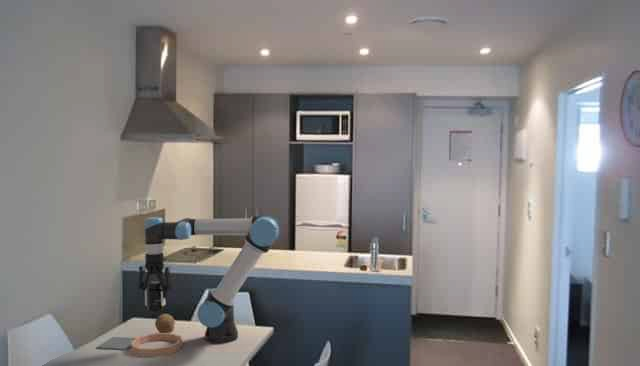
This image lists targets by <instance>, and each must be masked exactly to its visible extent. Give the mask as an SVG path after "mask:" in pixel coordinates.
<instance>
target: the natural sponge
mask: <svg viewBox="0 0 640 366" xmlns="http://www.w3.org/2000/svg"><path fill="white" fill-rule="evenodd" d="M154 322H155V323H154V325H155V328H156V330H157V331H158V333H172V332H173V331H174V329H175V323H176V322H175V319H174V317H173V316H172V315H170V314H168V313H163V314H160V315H159V316H158V317H157V318H156V320H155V321H154Z"/></svg>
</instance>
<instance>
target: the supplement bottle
mask: <svg viewBox="0 0 640 366" xmlns="http://www.w3.org/2000/svg"><path fill="white" fill-rule="evenodd" d="M161 291H162V287H161V284H160V281H150V282H149V285H148V290H147V305H146V309H147V311H148V312H158V311H162V310H163V309H164V306H161Z"/></svg>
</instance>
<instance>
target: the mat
mask: <svg viewBox="0 0 640 366" xmlns="http://www.w3.org/2000/svg"><path fill="white" fill-rule="evenodd" d="M136 338H137V337H123V336H122V337H121V336H112V337H111V338H109V339H107V340H106V341H104V342H102V343H101V344H99V345H98V346H96V347H95V349H96V350H98V349H100V350H116V351H128V349H130V348H132V344H131V342H132V341H133V340H135V339H136Z"/></svg>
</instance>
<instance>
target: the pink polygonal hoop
mask: <svg viewBox="0 0 640 366" xmlns="http://www.w3.org/2000/svg"><path fill="white" fill-rule="evenodd" d="M135 338H136V339H135V340H133V341H132V342H131V344H132V346H131V353H132V354H134V355H137V356H139V357H158V356H165V355H169V354H173V353H175V352H177V351H178V350H180V349H181V348H182V347H183V338H182V336H181V335H179V334H176V333H172V332H171V333H159V332H158V333H149V334H145V335H143V336H138V337H135ZM157 341H170V342H175V343H173V344H169V345H167V346H162V347H154V348H146V347H140V345H142V344H147V343H149V342H157Z"/></svg>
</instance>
